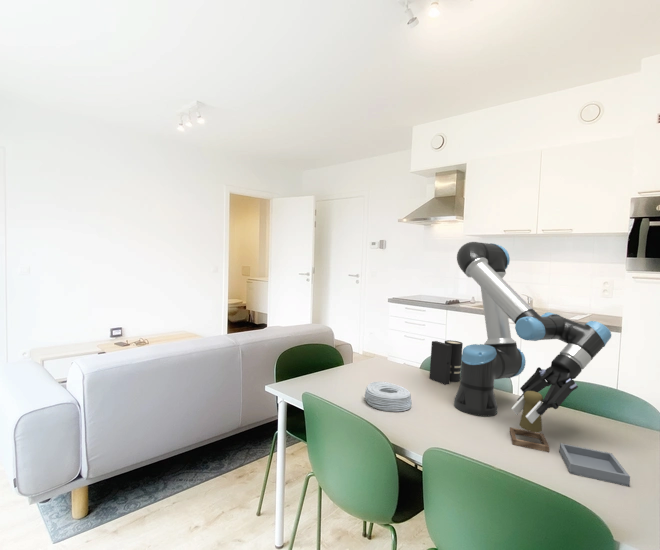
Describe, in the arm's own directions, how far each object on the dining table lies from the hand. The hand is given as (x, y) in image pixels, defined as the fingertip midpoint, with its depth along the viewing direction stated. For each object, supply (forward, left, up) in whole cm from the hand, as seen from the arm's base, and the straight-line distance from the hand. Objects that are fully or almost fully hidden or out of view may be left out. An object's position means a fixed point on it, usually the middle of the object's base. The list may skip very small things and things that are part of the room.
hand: (521, 415), depth 110 cm
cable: (-43, +12, -9) cm, 46 cm away
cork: (+3, +2, -4) cm, 6 cm away
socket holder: (+3, +2, -8) cm, 9 cm away
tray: (+17, -7, -8) cm, 20 cm away
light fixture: (-24, +55, -9) cm, 61 cm away
